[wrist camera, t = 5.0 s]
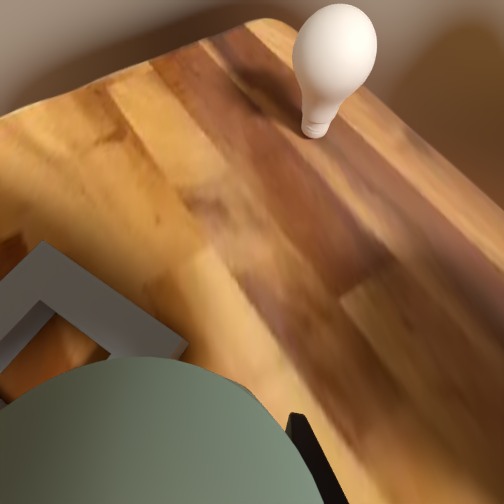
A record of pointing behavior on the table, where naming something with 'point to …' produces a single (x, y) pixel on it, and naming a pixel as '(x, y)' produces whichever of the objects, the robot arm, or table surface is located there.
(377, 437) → the table surface
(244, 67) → the table surface
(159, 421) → the peg
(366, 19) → the lightbulb
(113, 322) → the holder board
